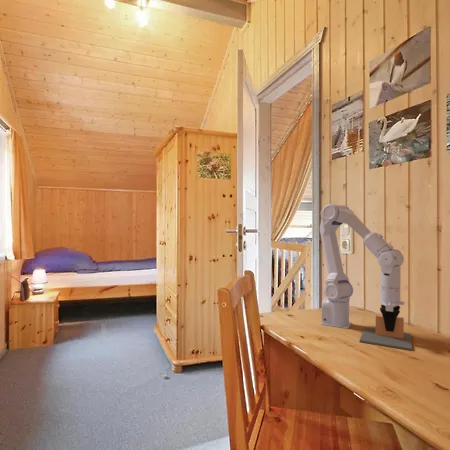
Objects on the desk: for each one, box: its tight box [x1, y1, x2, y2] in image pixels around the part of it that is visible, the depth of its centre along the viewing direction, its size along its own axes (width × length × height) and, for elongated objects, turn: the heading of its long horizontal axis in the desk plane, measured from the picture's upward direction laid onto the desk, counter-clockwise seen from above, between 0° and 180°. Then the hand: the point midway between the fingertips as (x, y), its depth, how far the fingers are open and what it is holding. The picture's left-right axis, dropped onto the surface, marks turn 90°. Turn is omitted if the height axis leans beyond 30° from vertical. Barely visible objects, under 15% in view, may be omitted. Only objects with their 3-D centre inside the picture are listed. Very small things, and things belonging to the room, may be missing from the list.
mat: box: [359, 326, 413, 352], centre depth 105 cm, size 14×16×1 cm
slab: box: [375, 314, 405, 339], centre depth 106 cm, size 8×2×6 cm, turn 62°
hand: (389, 329), depth 106 cm, fingers open, 4 cm apart
